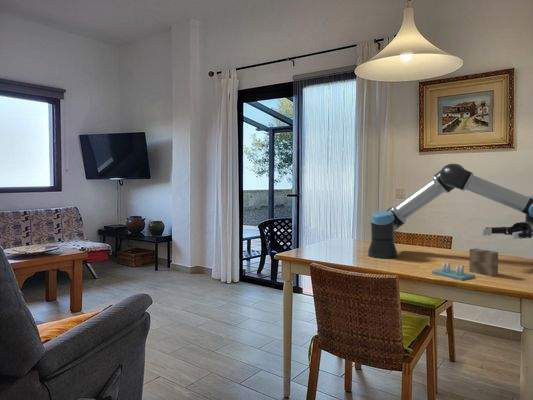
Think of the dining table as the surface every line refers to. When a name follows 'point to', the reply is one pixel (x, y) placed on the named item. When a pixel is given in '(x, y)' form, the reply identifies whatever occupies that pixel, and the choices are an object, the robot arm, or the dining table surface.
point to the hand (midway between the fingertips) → (497, 234)
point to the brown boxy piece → (483, 262)
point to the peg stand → (453, 272)
